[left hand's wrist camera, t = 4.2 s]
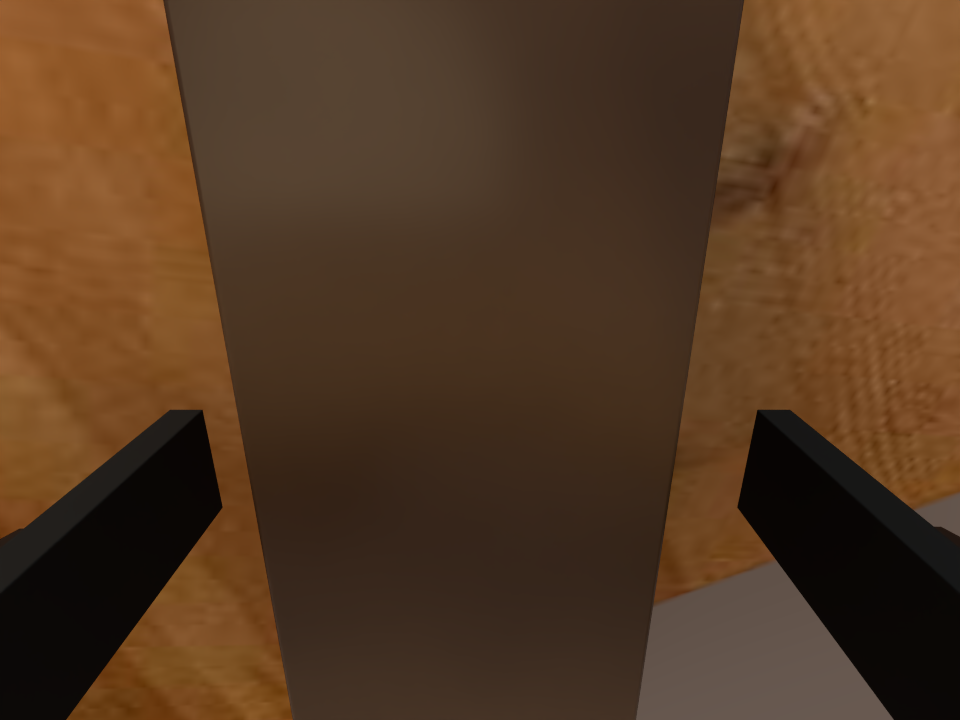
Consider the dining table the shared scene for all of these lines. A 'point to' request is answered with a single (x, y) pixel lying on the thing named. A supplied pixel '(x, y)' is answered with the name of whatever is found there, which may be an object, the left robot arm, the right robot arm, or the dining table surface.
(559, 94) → the box
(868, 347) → the dining table surface
